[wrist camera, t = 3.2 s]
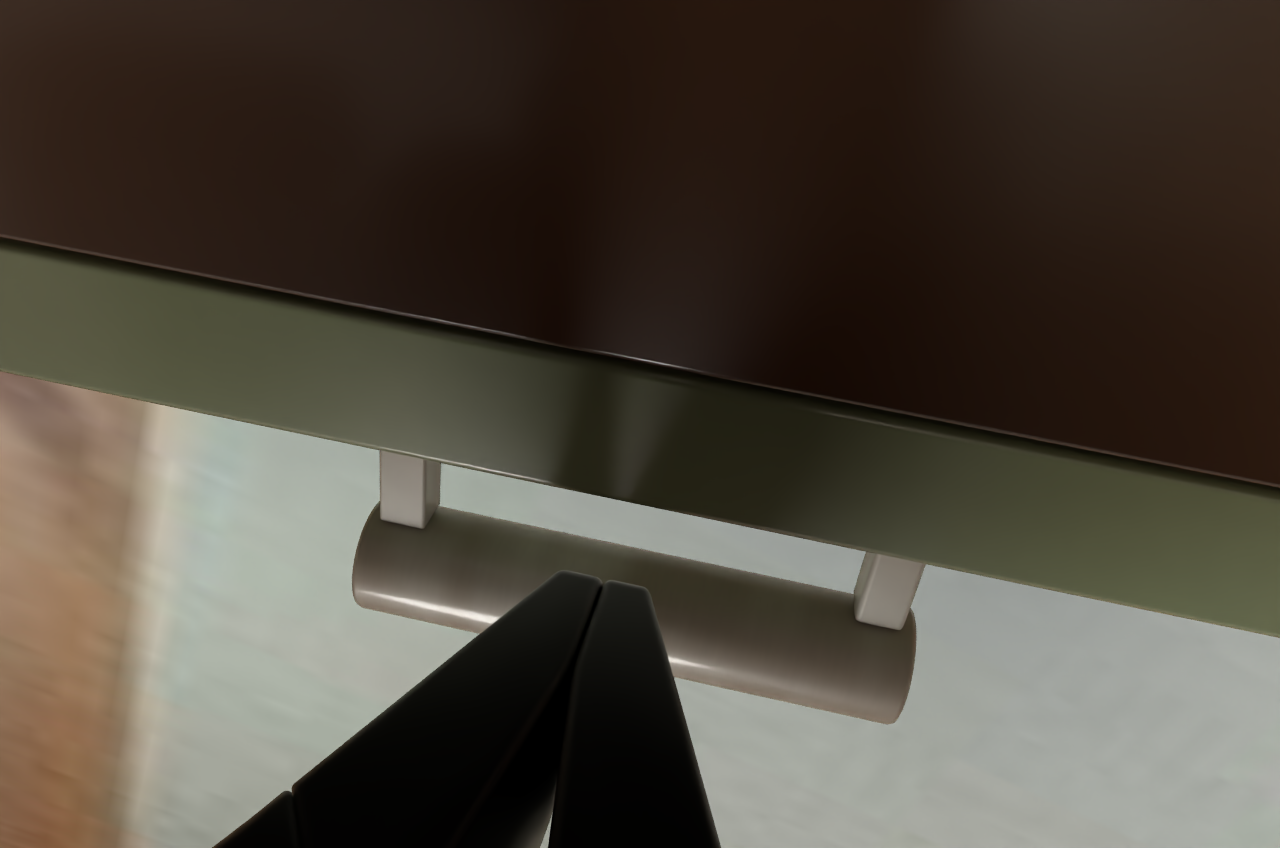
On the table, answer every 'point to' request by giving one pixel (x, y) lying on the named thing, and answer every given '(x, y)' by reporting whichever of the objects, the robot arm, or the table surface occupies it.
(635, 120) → the cabinet
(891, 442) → the drawer
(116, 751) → the table surface
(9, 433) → the table surface
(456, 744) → the robot arm
